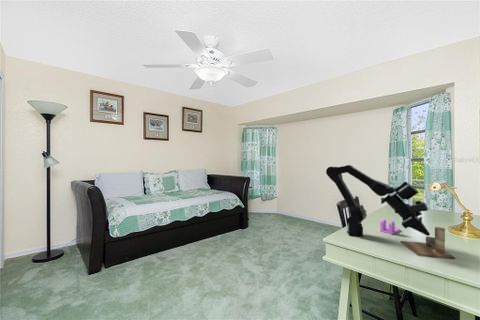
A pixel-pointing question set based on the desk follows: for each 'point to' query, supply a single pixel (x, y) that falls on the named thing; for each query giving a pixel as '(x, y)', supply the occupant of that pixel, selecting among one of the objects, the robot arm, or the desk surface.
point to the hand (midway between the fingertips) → (429, 235)
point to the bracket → (390, 229)
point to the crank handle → (437, 240)
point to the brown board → (425, 250)
